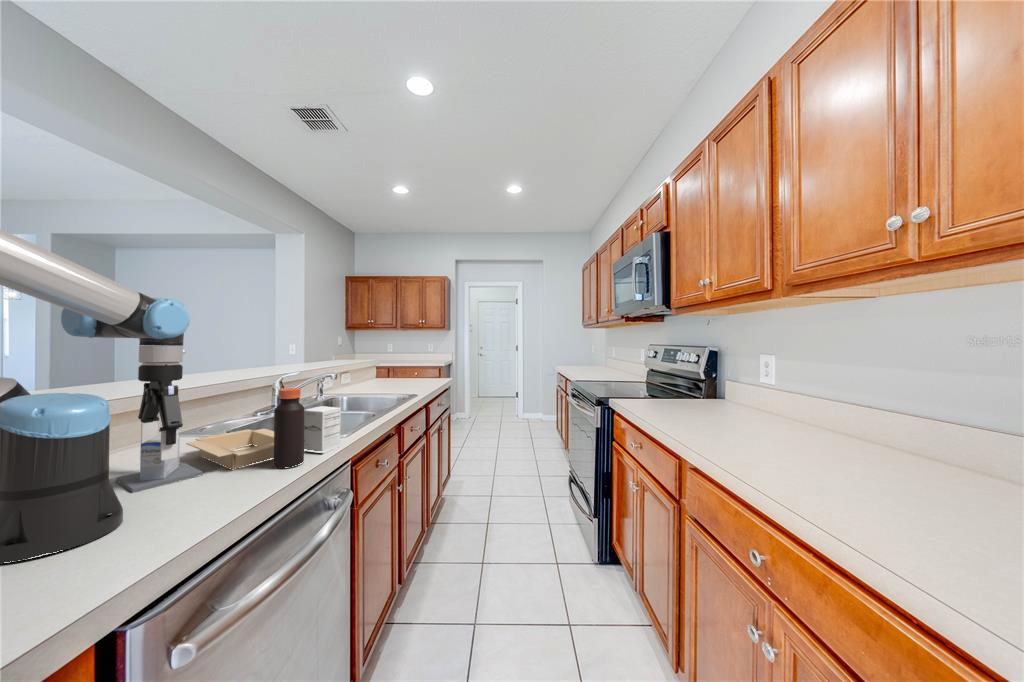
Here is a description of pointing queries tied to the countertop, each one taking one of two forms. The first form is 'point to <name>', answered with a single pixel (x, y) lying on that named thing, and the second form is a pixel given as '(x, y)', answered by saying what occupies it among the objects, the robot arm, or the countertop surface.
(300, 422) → the bottle
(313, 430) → the supplement box
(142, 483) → the mat
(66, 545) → the robot arm
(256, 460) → the carton
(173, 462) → the medicine box
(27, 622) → the countertop surface
